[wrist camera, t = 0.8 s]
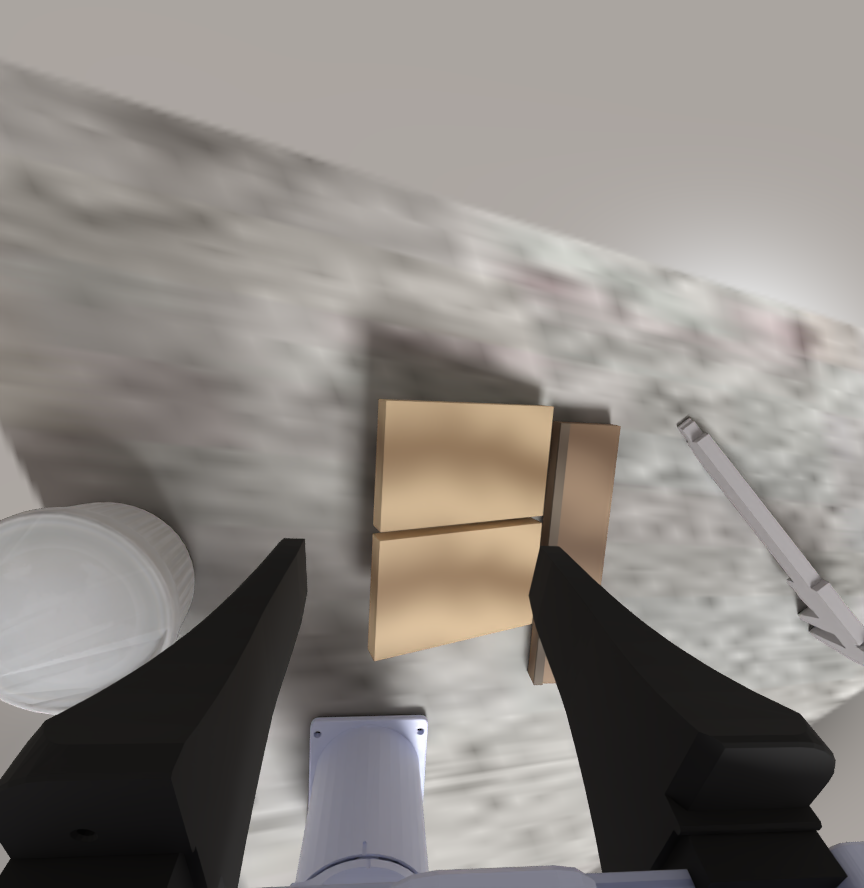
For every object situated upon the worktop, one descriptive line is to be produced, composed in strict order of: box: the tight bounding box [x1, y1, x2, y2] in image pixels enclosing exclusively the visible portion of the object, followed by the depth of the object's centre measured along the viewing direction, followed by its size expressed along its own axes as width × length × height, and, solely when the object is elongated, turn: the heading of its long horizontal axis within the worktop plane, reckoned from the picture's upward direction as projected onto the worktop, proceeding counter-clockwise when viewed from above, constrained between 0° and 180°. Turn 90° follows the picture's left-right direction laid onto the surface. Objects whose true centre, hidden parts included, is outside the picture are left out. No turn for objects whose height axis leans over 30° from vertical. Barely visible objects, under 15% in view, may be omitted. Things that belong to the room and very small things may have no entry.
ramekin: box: [0, 502, 195, 715], centre depth 25 cm, size 11×11×5 cm
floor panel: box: [528, 421, 621, 685], centre depth 30 cm, size 18×4×1 cm, turn 176°
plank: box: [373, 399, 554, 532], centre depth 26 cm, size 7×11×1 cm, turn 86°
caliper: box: [678, 418, 864, 666], centre depth 29 cm, size 20×1×6 cm, turn 38°
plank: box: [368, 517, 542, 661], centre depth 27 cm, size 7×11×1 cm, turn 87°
